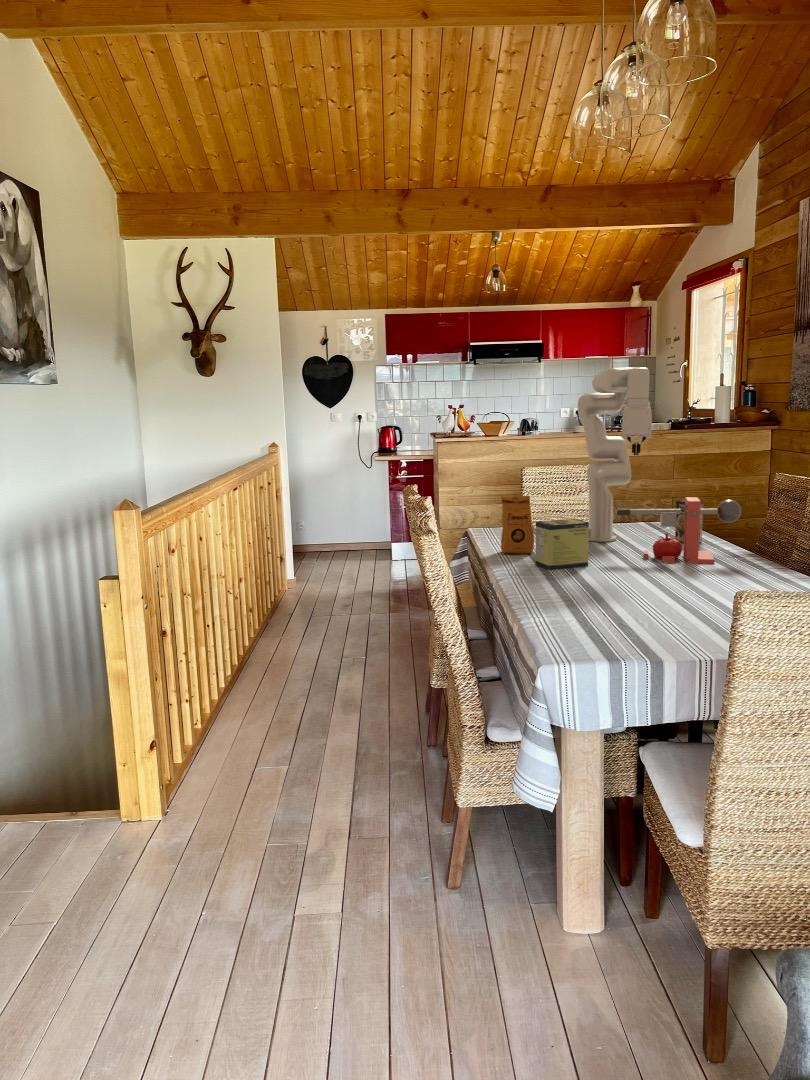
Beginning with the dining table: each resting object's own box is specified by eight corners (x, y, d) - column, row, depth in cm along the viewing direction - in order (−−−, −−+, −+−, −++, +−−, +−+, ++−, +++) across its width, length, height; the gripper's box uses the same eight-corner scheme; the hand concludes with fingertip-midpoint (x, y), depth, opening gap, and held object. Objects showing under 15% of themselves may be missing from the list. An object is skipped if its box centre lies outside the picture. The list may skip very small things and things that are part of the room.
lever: (617, 527, 281) (617, 502, 279) (617, 523, 288) (617, 499, 287) (742, 527, 270) (743, 501, 268) (739, 523, 277) (739, 498, 276)
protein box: (589, 566, 273) (589, 521, 270) (548, 570, 268) (548, 525, 265) (573, 560, 282) (574, 518, 280) (534, 564, 278) (534, 521, 275)
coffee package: (534, 555, 294) (534, 496, 290) (500, 555, 296) (500, 497, 292) (533, 550, 304) (533, 493, 300) (501, 550, 306) (500, 494, 302)
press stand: (644, 562, 276) (645, 501, 273) (643, 553, 292) (644, 496, 288) (714, 563, 270) (716, 502, 267) (709, 554, 286) (711, 496, 282)
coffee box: (674, 539, 317) (675, 500, 314) (687, 538, 319) (689, 499, 316) (688, 543, 308) (690, 502, 306) (702, 542, 310) (704, 501, 307)
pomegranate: (676, 562, 275) (677, 536, 273) (648, 559, 281) (649, 534, 279) (685, 557, 283) (686, 531, 281) (658, 554, 289) (658, 529, 287)
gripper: (615, 404, 278) (614, 456, 281) (659, 403, 274) (658, 455, 277) (616, 403, 285) (614, 454, 288) (659, 402, 281) (657, 454, 284)
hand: (636, 454), depth 283 cm, fingers closed
